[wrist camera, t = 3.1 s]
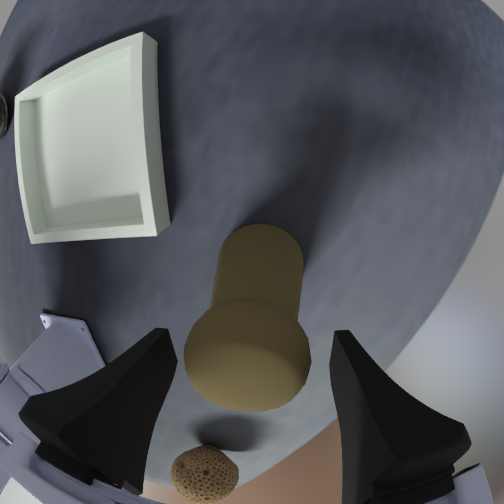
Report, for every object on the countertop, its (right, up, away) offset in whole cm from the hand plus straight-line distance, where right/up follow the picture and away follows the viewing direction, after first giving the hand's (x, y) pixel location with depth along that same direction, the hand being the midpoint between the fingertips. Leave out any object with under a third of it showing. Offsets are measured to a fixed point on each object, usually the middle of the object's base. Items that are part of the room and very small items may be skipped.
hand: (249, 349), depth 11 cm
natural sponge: (-6, -23, +20) cm, 30 cm away
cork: (+1, +3, +8) cm, 9 cm away
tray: (-13, +12, +6) cm, 19 cm away
